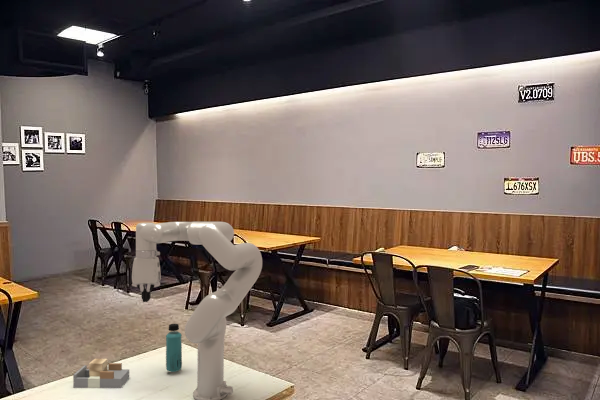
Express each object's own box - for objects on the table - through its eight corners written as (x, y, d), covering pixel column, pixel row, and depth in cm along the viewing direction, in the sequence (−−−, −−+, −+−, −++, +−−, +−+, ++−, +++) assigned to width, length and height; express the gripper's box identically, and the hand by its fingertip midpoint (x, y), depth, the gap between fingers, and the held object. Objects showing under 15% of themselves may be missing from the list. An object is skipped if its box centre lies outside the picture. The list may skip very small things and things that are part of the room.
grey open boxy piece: (129, 378, 186) (129, 363, 185) (120, 387, 177) (120, 372, 176) (84, 377, 185) (84, 363, 185) (73, 387, 176) (73, 372, 176)
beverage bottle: (177, 376, 188) (177, 327, 187) (162, 374, 189) (162, 326, 189) (184, 369, 194) (184, 322, 194) (170, 368, 196) (170, 321, 195)
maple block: (107, 371, 183) (107, 358, 183) (102, 376, 178) (102, 363, 178) (95, 371, 183) (94, 358, 183) (89, 376, 178) (89, 363, 178)
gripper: (168, 253, 184) (167, 299, 185) (130, 252, 184) (130, 298, 184) (162, 256, 177) (162, 303, 177) (123, 255, 176) (123, 303, 177)
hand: (146, 301), depth 181 cm, fingers closed
